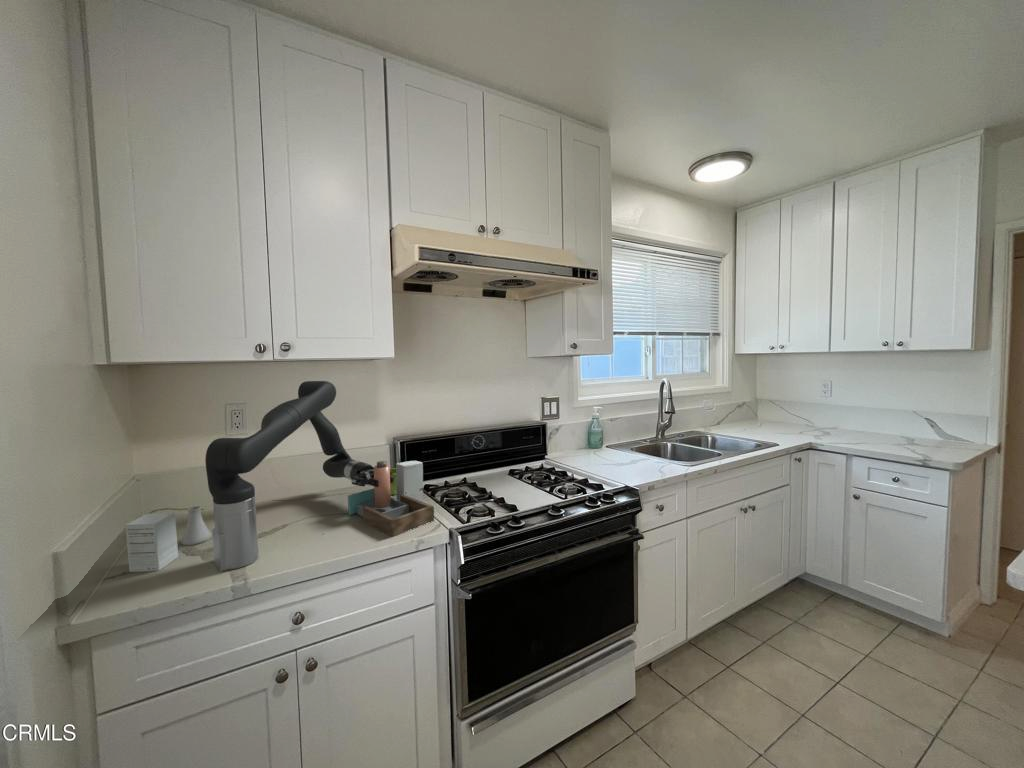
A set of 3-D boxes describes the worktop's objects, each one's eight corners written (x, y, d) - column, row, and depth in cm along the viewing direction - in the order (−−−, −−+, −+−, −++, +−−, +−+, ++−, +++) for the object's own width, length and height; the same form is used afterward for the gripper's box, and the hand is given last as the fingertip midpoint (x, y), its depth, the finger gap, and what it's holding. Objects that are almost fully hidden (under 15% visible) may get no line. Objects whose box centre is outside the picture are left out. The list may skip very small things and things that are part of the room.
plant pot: (373, 496, 162) (373, 474, 161) (386, 488, 171) (386, 467, 170) (395, 498, 160) (395, 475, 159) (407, 490, 169) (407, 468, 168)
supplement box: (150, 558, 114) (147, 513, 113) (179, 557, 115) (176, 512, 114) (127, 572, 107) (123, 524, 106) (158, 571, 107) (155, 523, 106)
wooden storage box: (393, 536, 126) (392, 520, 126) (363, 521, 138) (362, 506, 137) (434, 521, 138) (433, 506, 137) (403, 508, 149) (403, 494, 149)
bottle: (380, 509, 140) (379, 465, 139) (372, 505, 143) (370, 462, 142) (393, 504, 144) (392, 461, 142) (385, 501, 147) (384, 459, 146)
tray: (372, 526, 133) (371, 506, 133) (348, 514, 143) (347, 495, 143) (414, 511, 145) (413, 493, 145) (389, 501, 155) (389, 484, 155)
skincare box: (403, 507, 150) (402, 466, 149) (395, 502, 155) (394, 463, 154) (424, 501, 156) (423, 462, 155) (416, 497, 160) (415, 459, 159)
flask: (195, 547, 121) (193, 513, 120) (174, 545, 122) (172, 511, 121) (217, 536, 128) (215, 504, 127) (197, 534, 129) (195, 502, 128)
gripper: (339, 466, 147) (365, 475, 136) (376, 458, 158) (402, 466, 147) (340, 487, 148) (365, 498, 137) (377, 477, 158) (403, 487, 147)
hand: (384, 481), depth 142 cm, fingers closed on bottle, 5 cm apart
